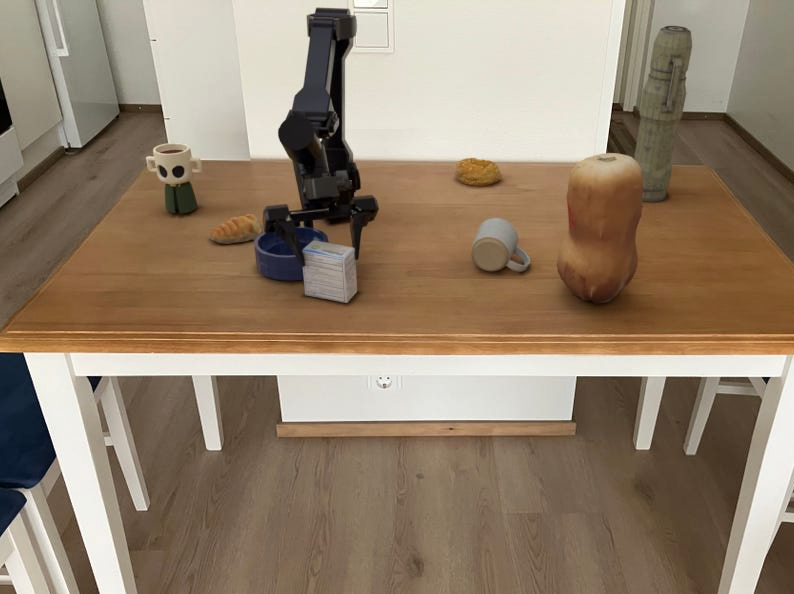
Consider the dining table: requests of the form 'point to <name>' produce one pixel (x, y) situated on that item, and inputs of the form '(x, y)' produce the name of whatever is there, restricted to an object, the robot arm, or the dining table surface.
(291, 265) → the basin
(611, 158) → the butternut squash
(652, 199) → the thermos
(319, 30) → the robot arm
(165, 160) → the character mug
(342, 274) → the medicine box
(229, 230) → the pastry
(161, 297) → the dining table surface
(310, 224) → the tap
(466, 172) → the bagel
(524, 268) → the ceramic mug
